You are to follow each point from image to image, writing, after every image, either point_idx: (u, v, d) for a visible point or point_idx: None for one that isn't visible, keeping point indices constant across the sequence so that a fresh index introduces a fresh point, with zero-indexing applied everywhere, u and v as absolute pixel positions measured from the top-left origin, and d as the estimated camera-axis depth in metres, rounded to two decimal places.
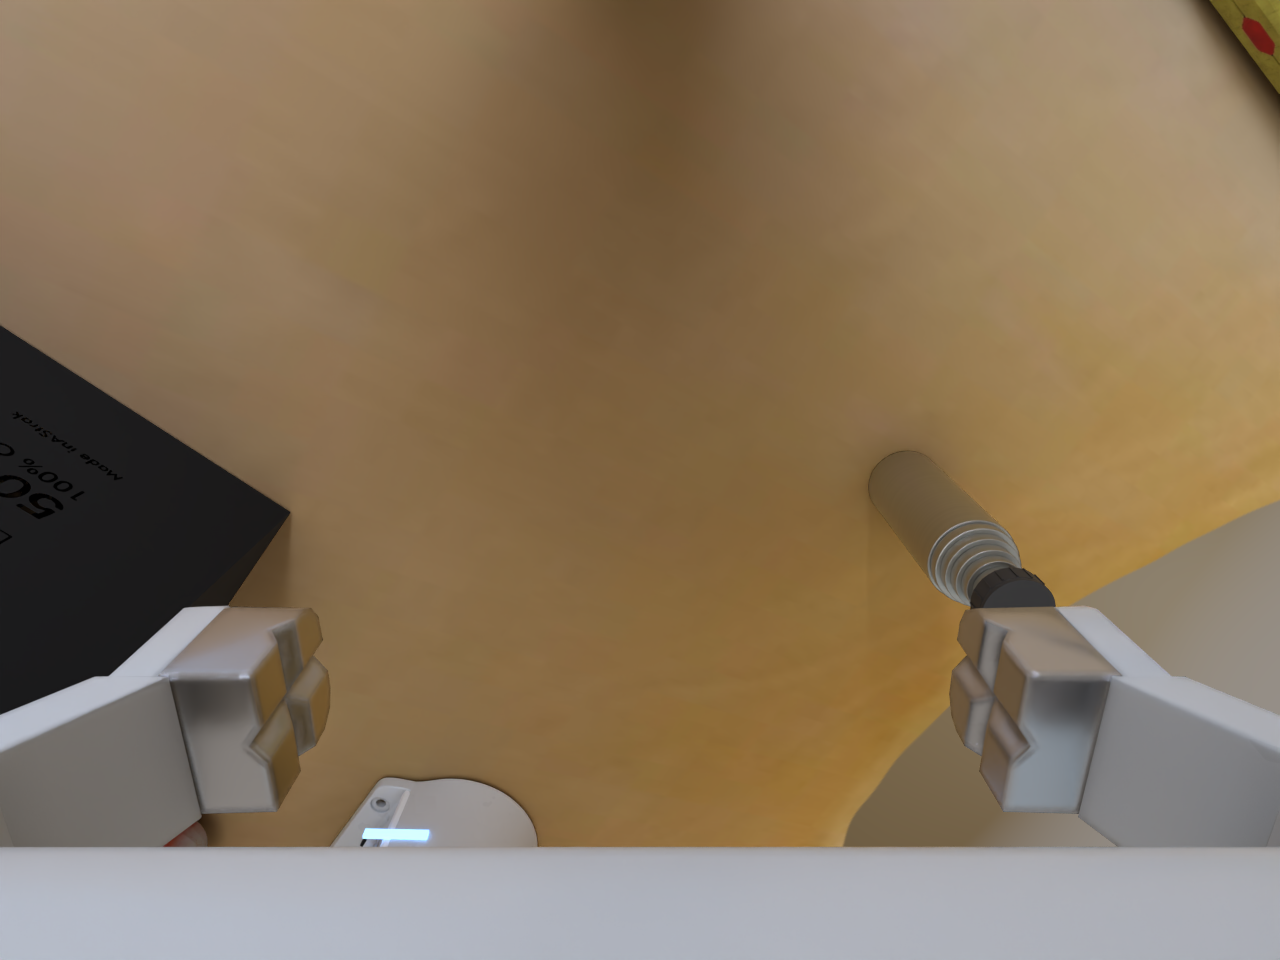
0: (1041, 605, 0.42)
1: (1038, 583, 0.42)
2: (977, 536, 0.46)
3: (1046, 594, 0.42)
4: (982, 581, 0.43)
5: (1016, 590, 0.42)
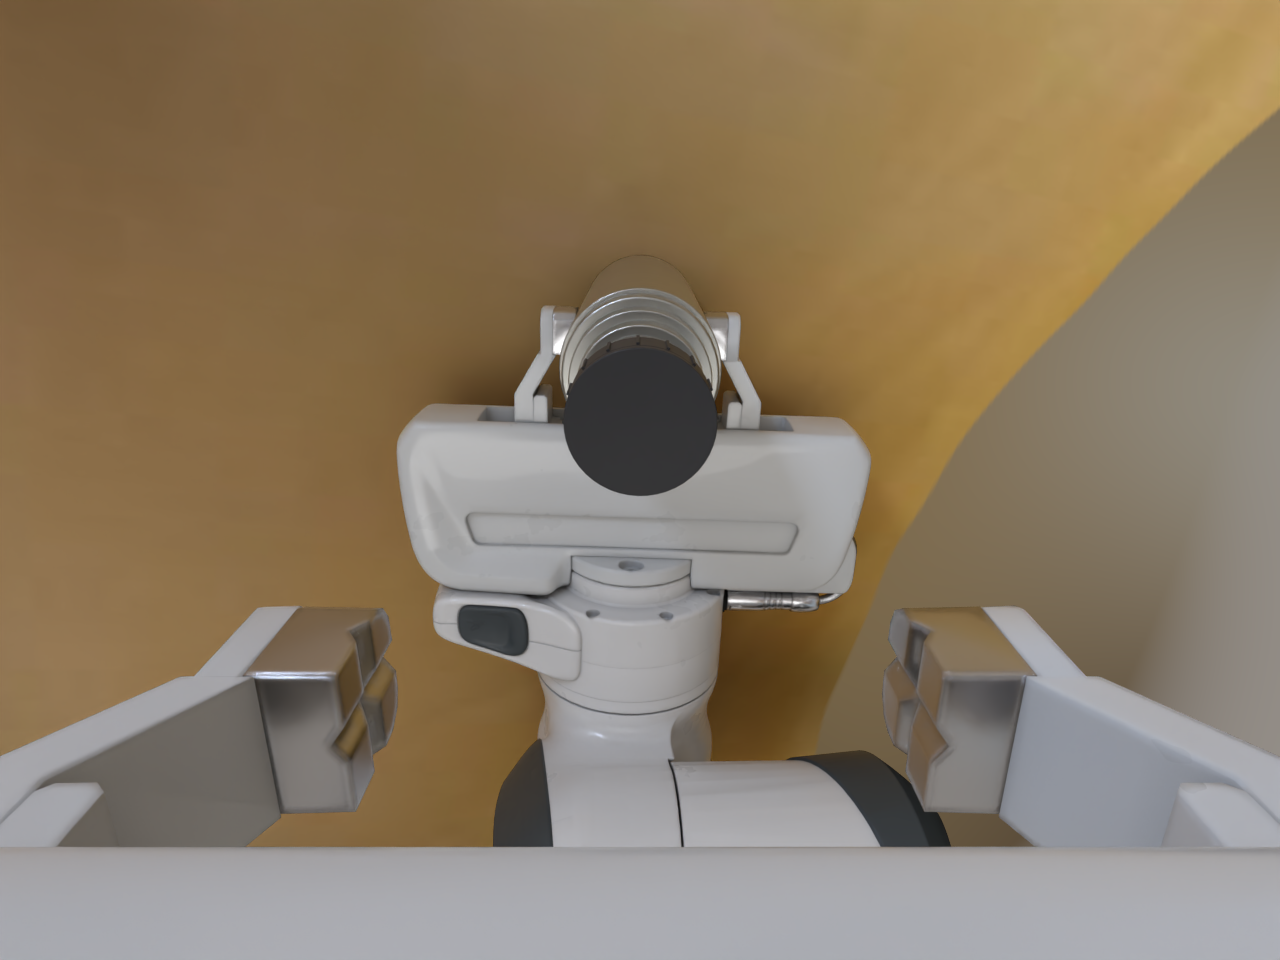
0: (677, 393, 0.20)
1: (646, 349, 0.19)
2: (602, 318, 0.24)
3: (674, 366, 0.20)
4: None
5: (609, 379, 0.20)
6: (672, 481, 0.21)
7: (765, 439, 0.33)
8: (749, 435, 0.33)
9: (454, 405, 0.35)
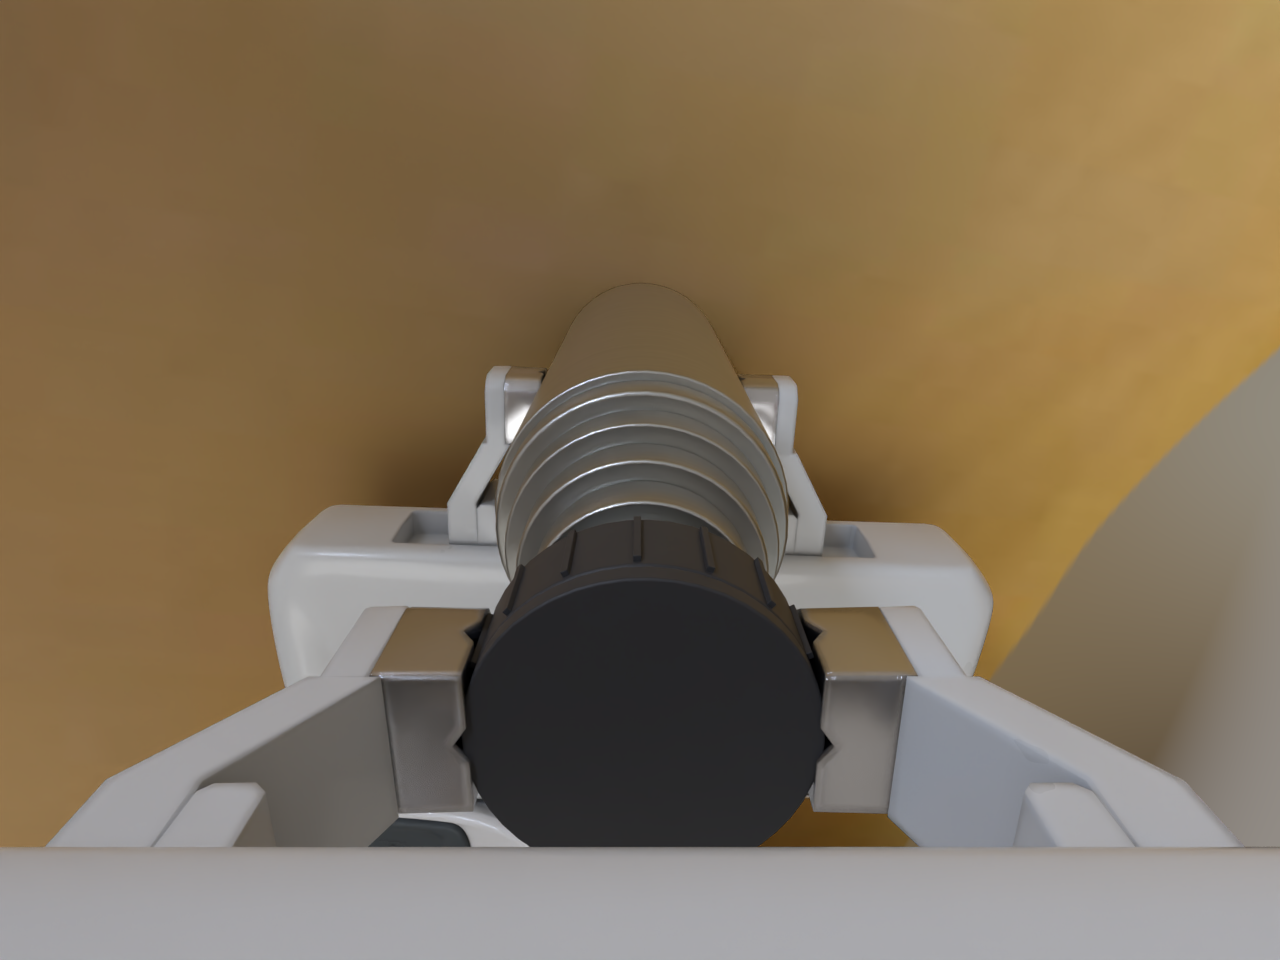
0: (732, 677, 0.08)
1: (658, 581, 0.08)
2: (568, 435, 0.13)
3: (727, 620, 0.08)
4: (487, 628, 0.10)
5: (568, 648, 0.08)
6: None
7: (834, 572, 0.21)
8: (809, 566, 0.22)
9: (365, 508, 0.24)
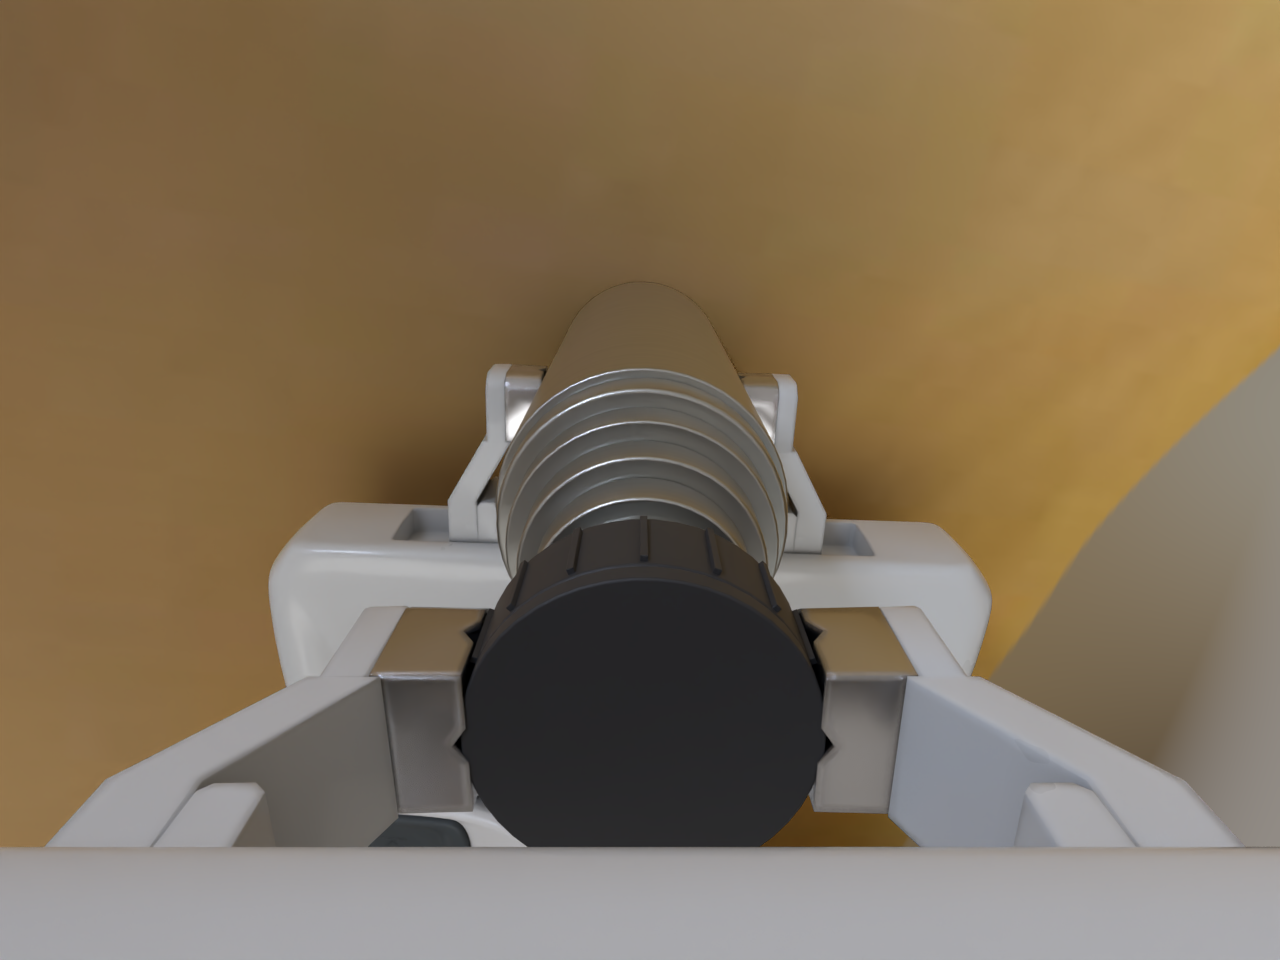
0: (567, 665, 0.08)
1: None
2: (569, 432, 0.13)
3: (502, 671, 0.08)
4: None
5: (534, 798, 0.09)
6: (794, 681, 0.08)
7: (833, 571, 0.22)
8: (808, 564, 0.22)
9: (365, 506, 0.24)
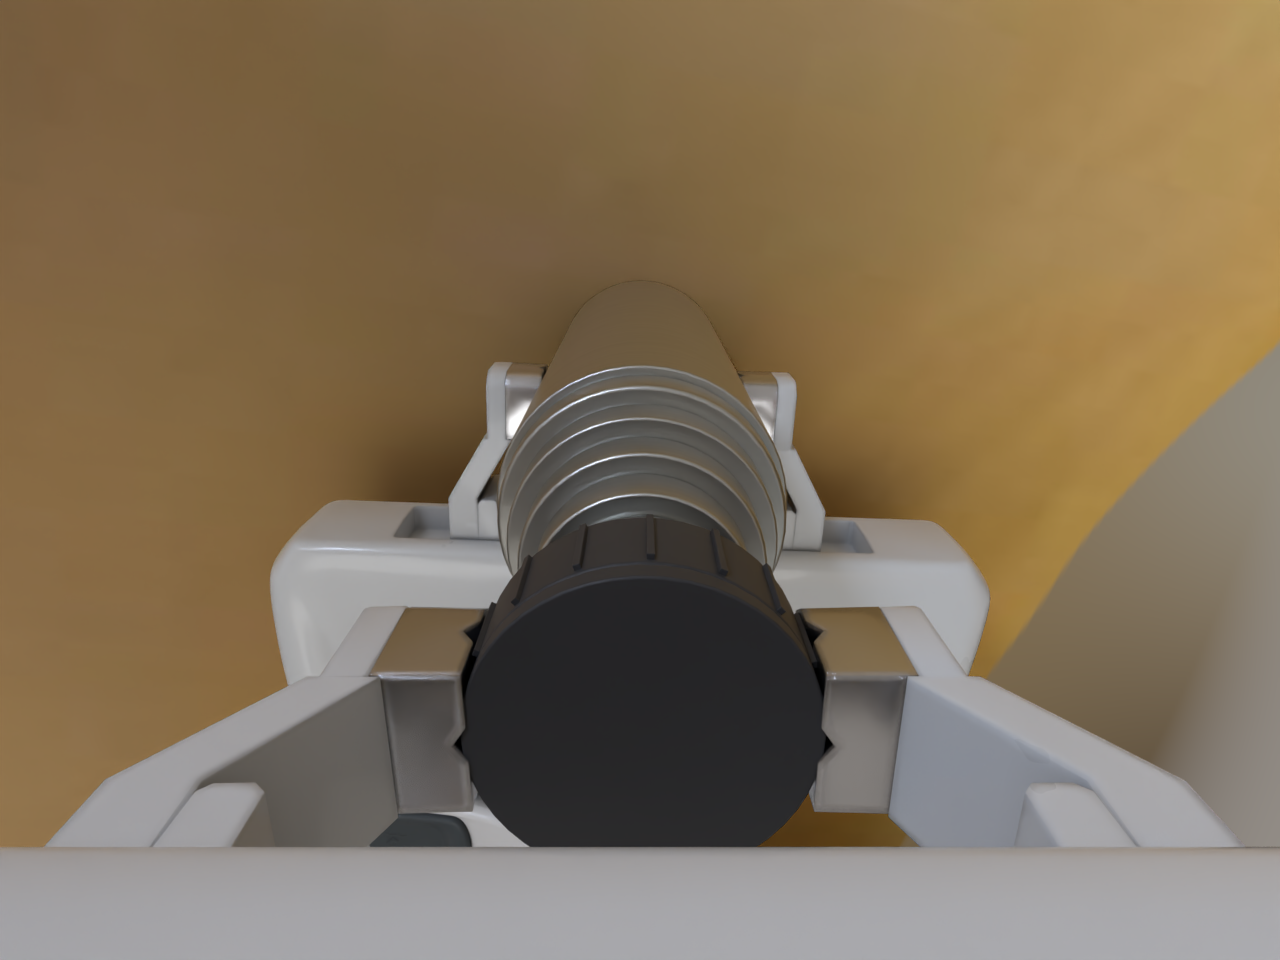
0: (553, 796, 0.09)
1: None
2: (569, 429, 0.13)
3: (558, 844, 0.09)
4: None
5: (703, 832, 0.09)
6: (571, 609, 0.08)
7: (832, 568, 0.22)
8: (807, 561, 0.22)
9: (366, 504, 0.24)
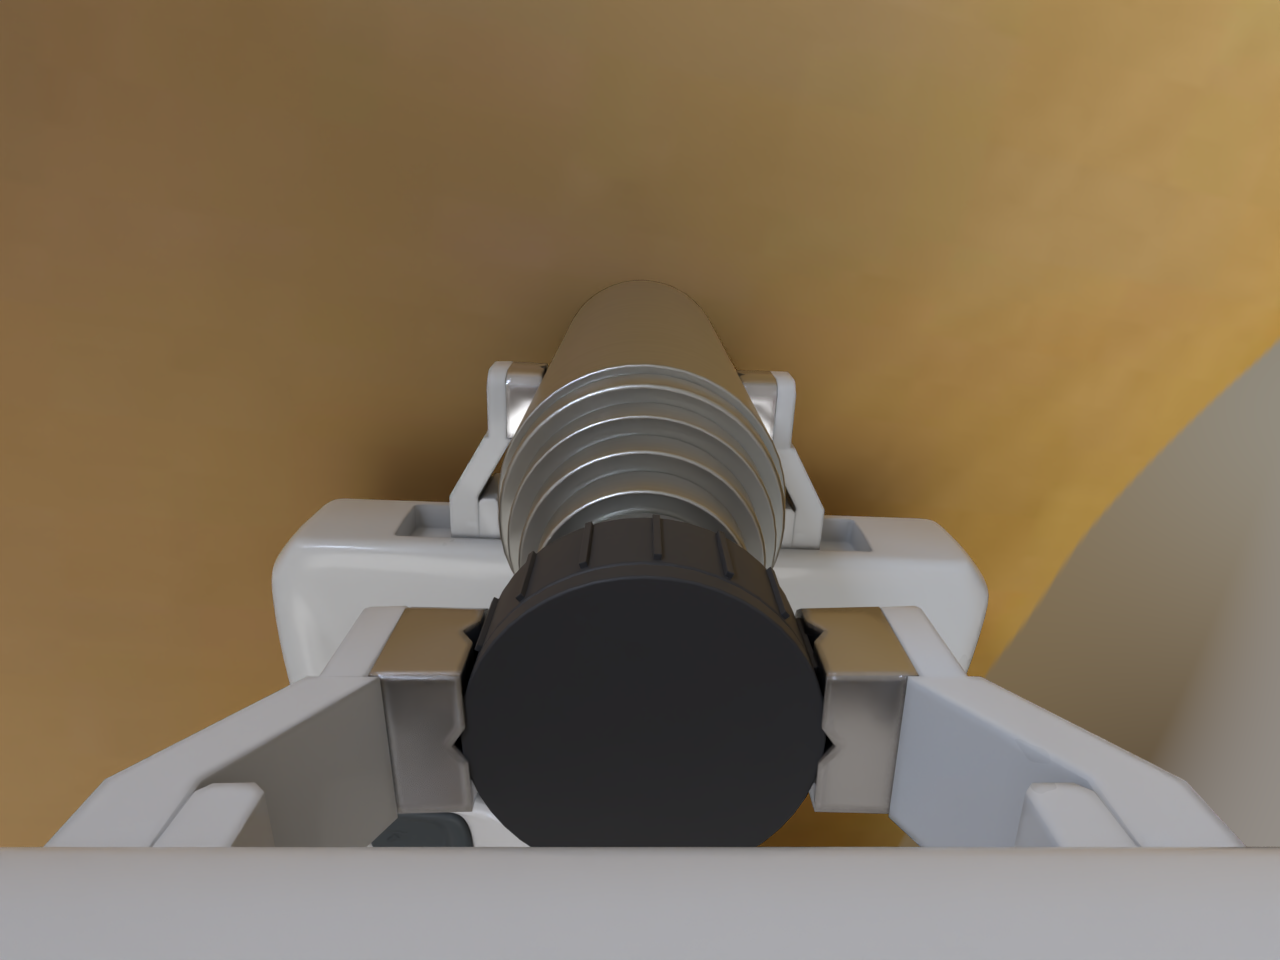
0: (706, 815, 0.09)
1: (816, 766, 0.09)
2: (570, 427, 0.13)
3: (767, 815, 0.09)
4: (713, 536, 0.09)
5: (763, 691, 0.08)
6: (496, 791, 0.09)
7: (831, 566, 0.22)
8: (806, 559, 0.22)
9: (367, 502, 0.24)
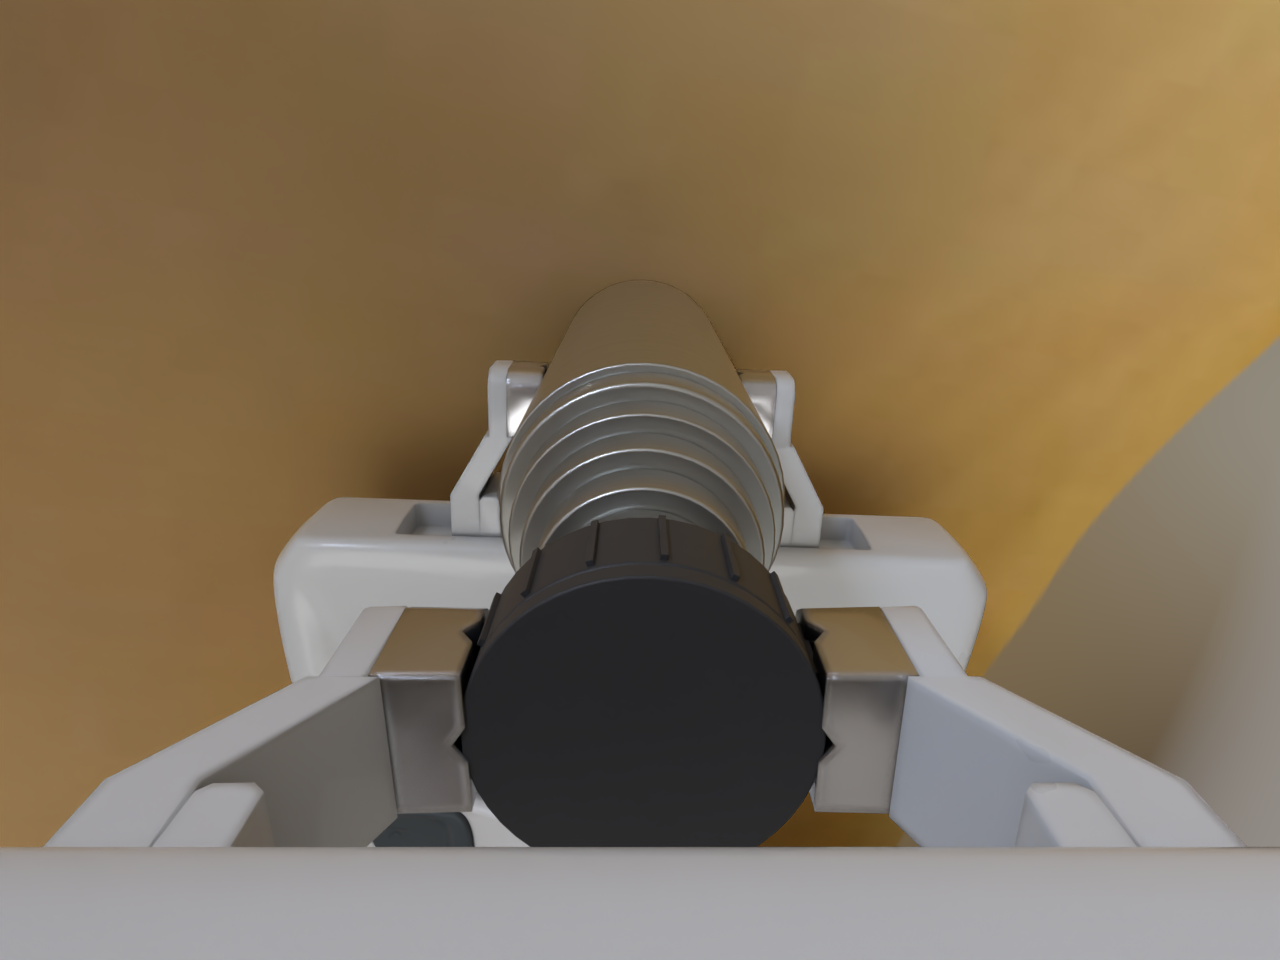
0: (743, 687, 0.08)
1: (685, 583, 0.08)
2: (570, 425, 0.13)
3: (747, 630, 0.08)
4: None
5: (584, 638, 0.08)
6: None
7: (830, 564, 0.22)
8: (805, 557, 0.22)
9: (368, 501, 0.24)
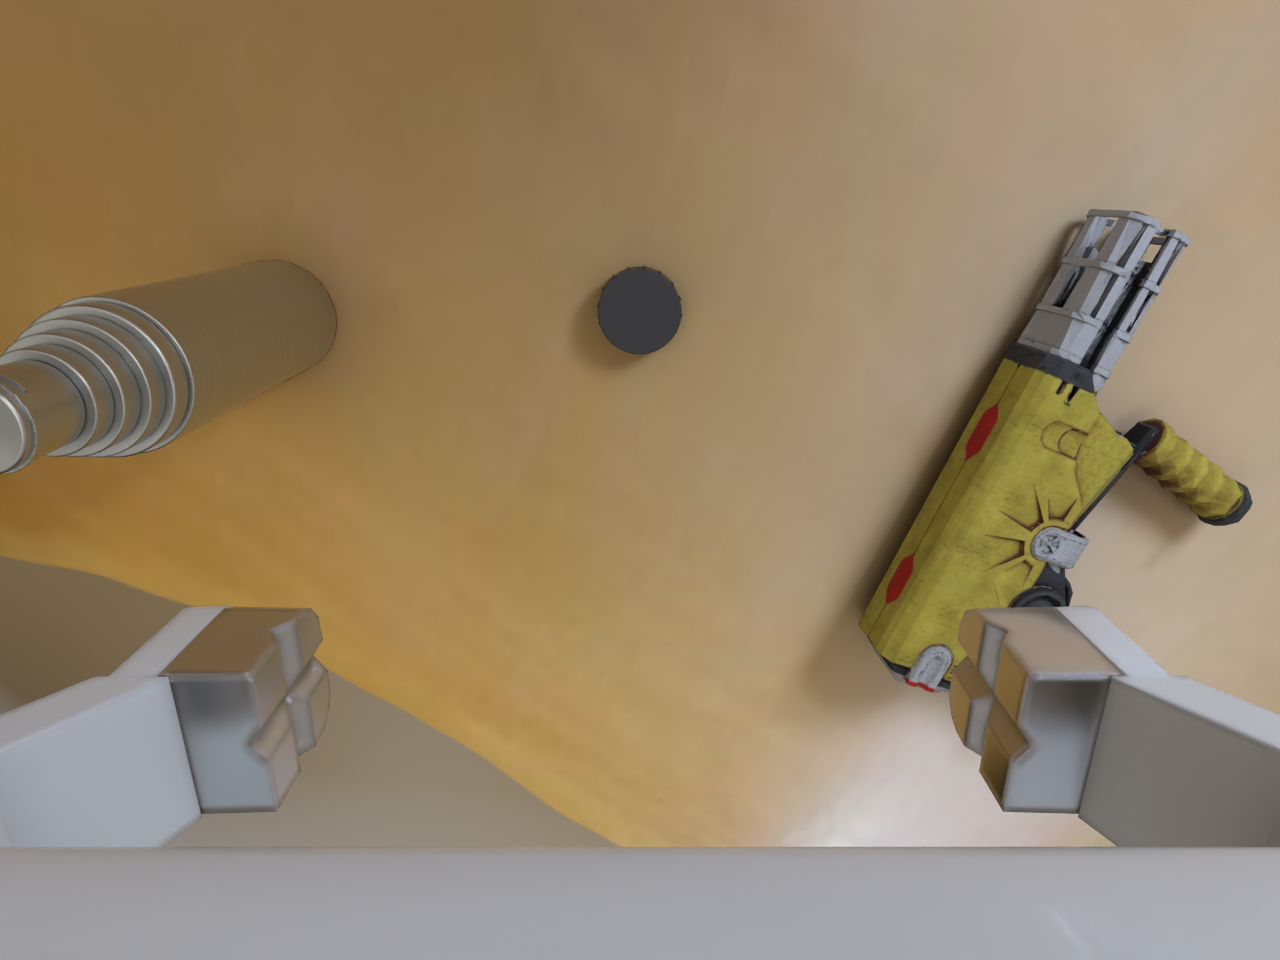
0: (661, 298, 0.37)
1: (648, 271, 0.37)
2: (138, 348, 0.25)
3: (662, 283, 0.37)
4: None
5: (626, 285, 0.37)
6: (652, 347, 0.38)
7: None
8: None
9: None
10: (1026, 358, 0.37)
